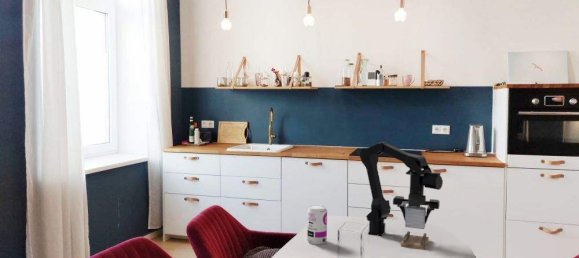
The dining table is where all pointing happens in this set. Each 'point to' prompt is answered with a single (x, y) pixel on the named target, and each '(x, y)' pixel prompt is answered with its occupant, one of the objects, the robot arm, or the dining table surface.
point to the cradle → (415, 241)
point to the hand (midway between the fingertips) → (415, 222)
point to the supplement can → (317, 225)
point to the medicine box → (415, 217)
